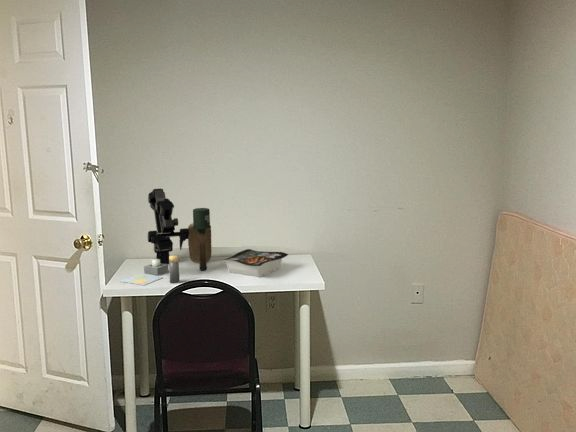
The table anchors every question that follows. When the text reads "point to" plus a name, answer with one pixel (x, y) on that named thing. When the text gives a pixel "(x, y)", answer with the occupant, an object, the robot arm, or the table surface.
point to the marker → (174, 269)
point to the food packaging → (254, 262)
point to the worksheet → (141, 279)
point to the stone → (198, 244)
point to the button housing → (156, 269)
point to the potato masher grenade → (202, 232)
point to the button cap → (155, 262)
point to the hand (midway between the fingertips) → (170, 250)
